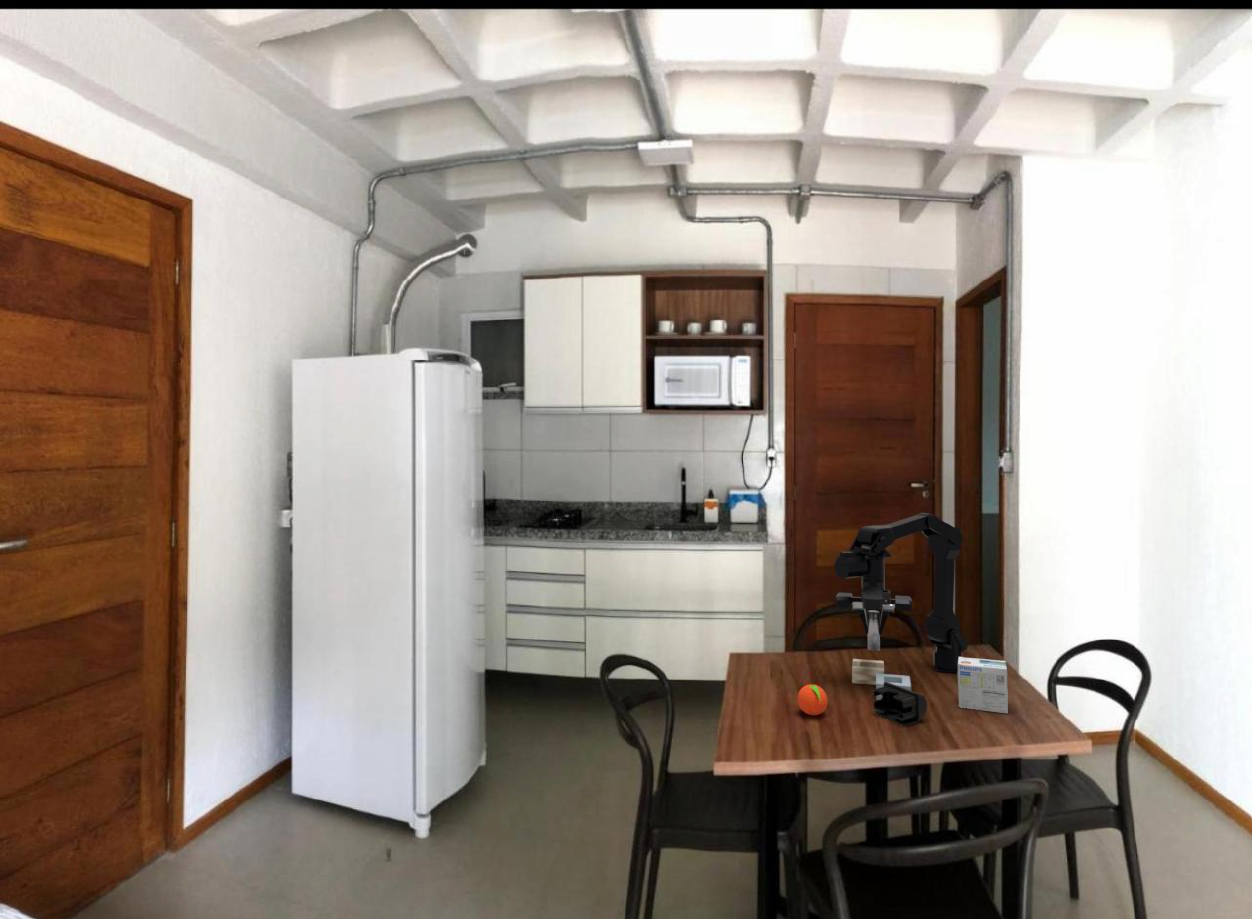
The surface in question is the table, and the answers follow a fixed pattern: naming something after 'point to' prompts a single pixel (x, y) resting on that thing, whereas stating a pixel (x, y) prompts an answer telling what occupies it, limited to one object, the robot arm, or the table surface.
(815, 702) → the clementine
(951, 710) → the table surface
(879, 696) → the slate block
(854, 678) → the birch block
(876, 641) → the cylinder
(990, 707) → the light bulb box
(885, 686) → the end cap
